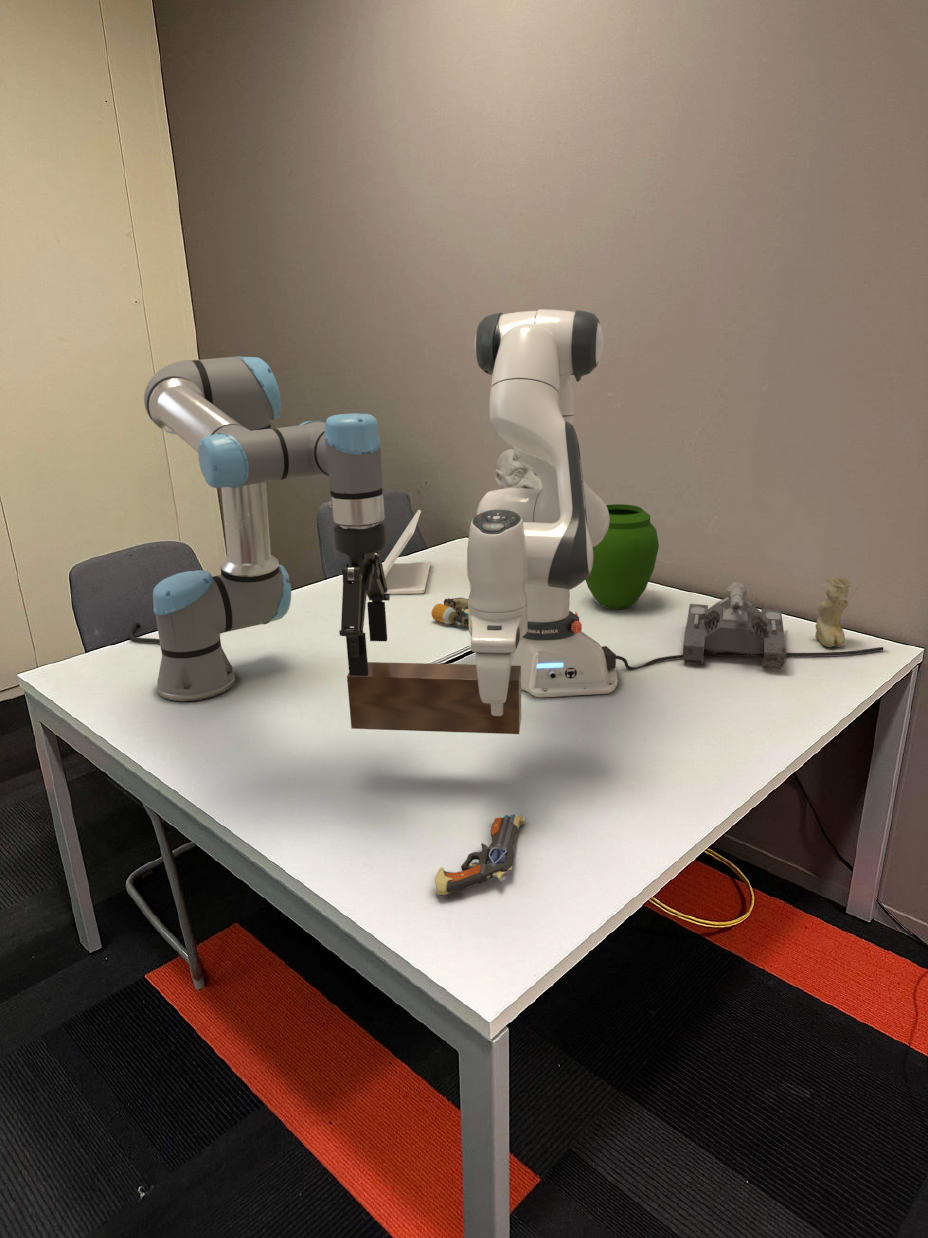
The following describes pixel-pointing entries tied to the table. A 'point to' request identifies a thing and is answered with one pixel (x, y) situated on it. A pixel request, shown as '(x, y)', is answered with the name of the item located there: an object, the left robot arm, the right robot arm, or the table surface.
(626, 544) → the vase
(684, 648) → the toy
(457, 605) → the spray gun
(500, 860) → the toy gun
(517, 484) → the bust sculpture
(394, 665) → the bar
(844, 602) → the sculpture
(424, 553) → the table surface
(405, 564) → the tablet stand
